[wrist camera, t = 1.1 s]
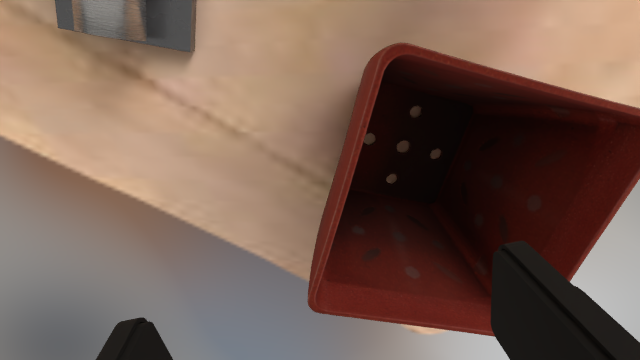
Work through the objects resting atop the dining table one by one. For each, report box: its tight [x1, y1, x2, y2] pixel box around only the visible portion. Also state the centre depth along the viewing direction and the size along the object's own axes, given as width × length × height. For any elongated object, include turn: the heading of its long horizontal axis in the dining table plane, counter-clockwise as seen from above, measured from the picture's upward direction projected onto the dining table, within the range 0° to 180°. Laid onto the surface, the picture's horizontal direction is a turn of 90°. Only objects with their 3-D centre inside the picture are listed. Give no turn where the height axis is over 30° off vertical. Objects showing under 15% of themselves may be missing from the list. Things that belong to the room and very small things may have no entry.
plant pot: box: [308, 43, 640, 336], centre depth 30 cm, size 19×19×17 cm
